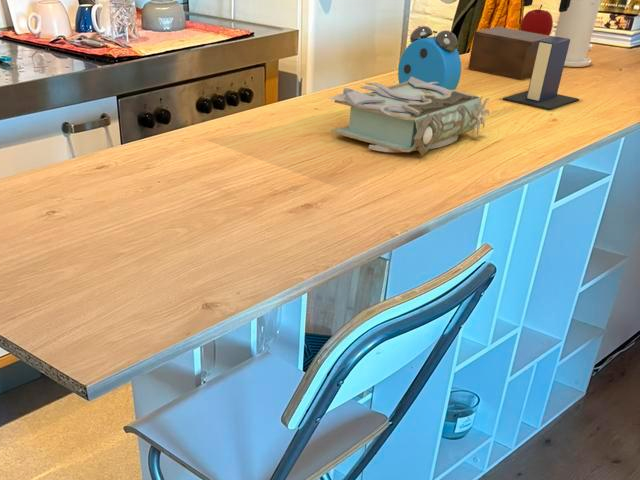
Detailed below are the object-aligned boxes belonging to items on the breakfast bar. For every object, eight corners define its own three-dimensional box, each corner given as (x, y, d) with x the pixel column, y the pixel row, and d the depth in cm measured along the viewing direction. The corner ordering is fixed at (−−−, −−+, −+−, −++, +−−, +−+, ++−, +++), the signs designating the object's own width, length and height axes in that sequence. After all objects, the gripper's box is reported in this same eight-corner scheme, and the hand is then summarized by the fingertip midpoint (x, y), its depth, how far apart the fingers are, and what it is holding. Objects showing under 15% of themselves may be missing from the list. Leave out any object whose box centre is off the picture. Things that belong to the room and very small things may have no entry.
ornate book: (413, 170, 149) (496, 133, 166) (420, 113, 143) (506, 81, 159) (317, 143, 160) (404, 111, 177) (320, 89, 154) (410, 62, 171)
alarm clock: (455, 108, 181) (469, 31, 171) (438, 113, 178) (451, 34, 168) (409, 96, 188) (420, 22, 178) (392, 100, 185) (402, 24, 175)
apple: (553, 43, 246) (562, 4, 240) (540, 46, 241) (548, 7, 234) (526, 38, 251) (534, 0, 244) (512, 42, 245) (519, 3, 239)
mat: (533, 90, 197) (533, 88, 197) (578, 100, 191) (579, 98, 190) (502, 99, 189) (503, 97, 189) (549, 110, 183) (549, 108, 182)
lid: (554, 40, 207) (554, 36, 206) (531, 45, 200) (531, 41, 200) (497, 30, 215) (498, 26, 215) (473, 34, 209) (474, 31, 208)
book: (543, 94, 193) (556, 36, 185) (556, 97, 191) (570, 38, 183) (525, 99, 188) (538, 40, 180) (539, 102, 186) (553, 43, 179)
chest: (542, 73, 212) (550, 39, 207) (520, 79, 206) (527, 44, 201) (491, 63, 220) (497, 30, 215) (467, 68, 214) (473, 35, 209)
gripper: (605, -75, 187) (584, 11, 198) (537, -81, 196) (521, 2, 207) (590, -73, 182) (569, 15, 194) (521, -79, 191) (506, 5, 203)
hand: (544, 8), depth 200 cm, fingers open, 9 cm apart
